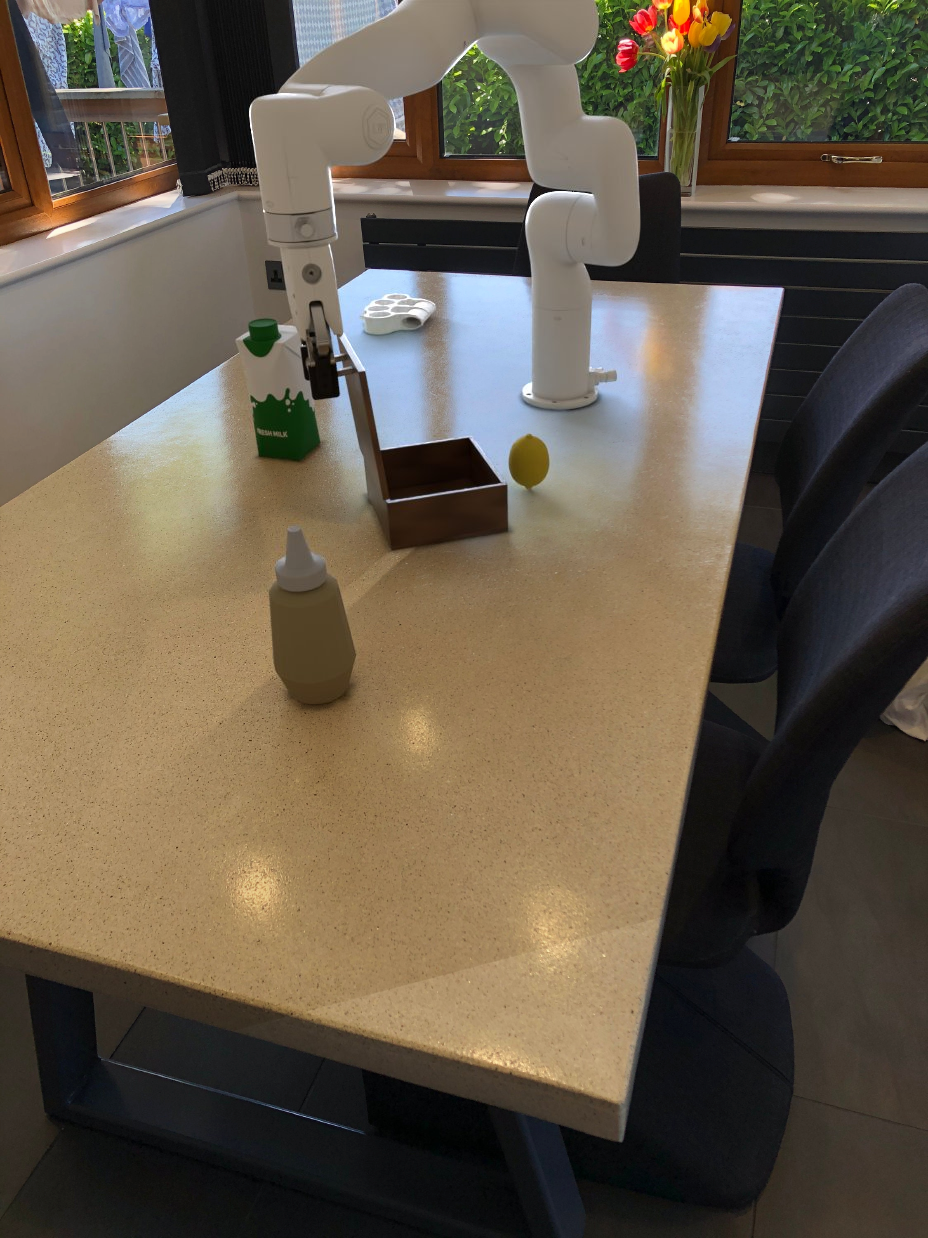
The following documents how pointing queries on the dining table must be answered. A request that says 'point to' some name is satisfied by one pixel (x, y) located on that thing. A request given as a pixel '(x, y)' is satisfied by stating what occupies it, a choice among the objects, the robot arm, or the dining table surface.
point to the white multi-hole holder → (396, 314)
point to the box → (438, 493)
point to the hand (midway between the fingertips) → (321, 386)
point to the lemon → (528, 461)
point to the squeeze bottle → (309, 625)
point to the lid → (361, 411)
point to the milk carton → (278, 390)
